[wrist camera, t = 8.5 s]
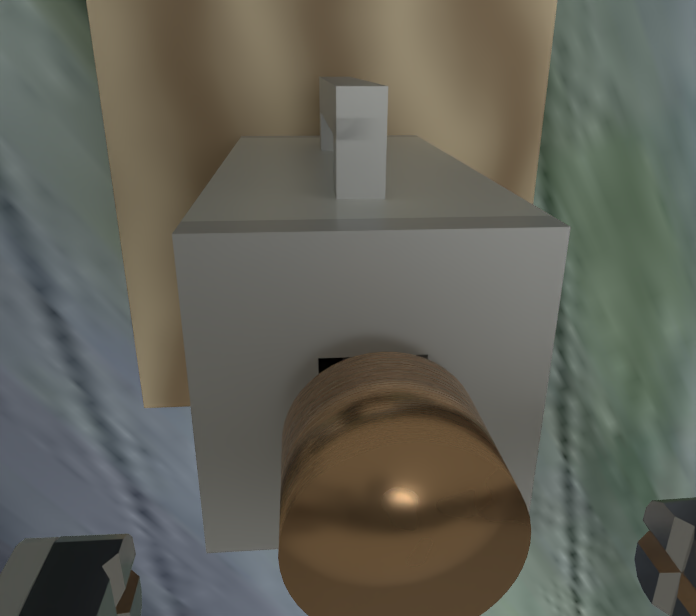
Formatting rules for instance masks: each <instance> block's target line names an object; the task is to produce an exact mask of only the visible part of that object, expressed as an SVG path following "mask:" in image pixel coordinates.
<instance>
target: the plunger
mask: <svg viewBox="0 0 696 616" xmlns="http://www.w3.org/2000/svg"><path fill="white" fill-rule="evenodd" d="M342 359H343V361H340V362H338V363H336V364H334V365H332V366H330V367H329V368H327V369H326V370H324V371H322V372H321V373H319V374H318V375H317V376H316V377H314V378H313V379H312V380H311V381H310V382H309V383H308V384H307V385H306V386H305V387H304V388H303V389H302V390H301V391H300V393H299V394H298V396H297V397H296V398H295V400H294V401H293V403H292V405H291V407H290V409H289V411H288V413H287V416H286V419H285V422H284V427H283V432H282V455H281V488H280V520H279V552H278V559H279V567H280V572H281V575H282V578H283V582H284V584H285V586H286V588H287V590H288V592H289V594H290V595H291V597H292V598H293V600H294V601H295V602H296V604H297V605H298V606H299V607H300V608H301V609H302V610H303V611H304V612H305V613H306V614H307V615H308V616H480V615H481V614H482V613H484V612H485V611H487V610H488V609H489V608H490V607H492V606H493V605H494V604H495V603H496V602H498V600H499V599H500V598H501V597H502V596H503V595H504V594H505V593H506V592H507V591H508V590H509V588H510V587H511V586H512V584H513V583H514V582H515V580H516V579H517V577H518V575H519V573H520V572H521V570H522V568H523V565H524V563H525V560H526V558H527V555H528V551H529V546H530V539H531V524H530V516H529V512H528V509H527V505H526V503H525V501H524V499H523V497H522V494H521V492H520V490H519V489H518V487H517V485H516V483H515V481H514V479H513V477H512V475H511V473H510V472H509V470H508V468H507V466H506V464H505V462H504V460H503V458H502V456H501V454H500V453H499V451H498V449H497V447H496V445H495V443H494V441H493V439H492V437H491V436H490V434H489V432H488V430H487V428H486V426H485V424H484V422H483V420H482V418H481V417H480V415H479V413H478V411H477V409H476V407H475V405H474V403H473V401H472V400H471V398H470V396H469V394H468V392H467V391H466V389H465V388H464V387H463V385H462V384H461V383H460V382H459V381H458V380H457V378H456V377H455V376H454V375H452V374H451V373H450V372H449V371H447V370H446V369H445V368H443V367H441V366H440V365H438V364H436V363H435V362H432V361H430V360H428V359H425V358H423V357H420V356H416V355H412V354H408V353H401V352H374V353H367V354H362V355H357V356H354V357H342Z"/></svg>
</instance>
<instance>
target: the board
mask: <svg viewBox="0 0 696 616" xmlns="http://www.w3.org/2000/svg"><path fill="white" fill-rule="evenodd" d="M86 2H87V9H88V16H89V23H90V30H91V37H92V44H93V51H94V59H95V66H96V73H97V80H98V87H99V94H100V101H101V108H102V115H103V122H104V129H105V136H106V143H107V150H108V157H109V164H110V171H111V178H112V185H113V192H114V199H115V206H116V213H117V220H118V227H119V234H120V241H121V248H122V255H123V262H124V269H125V276H126V283H127V290H128V297H129V304H130V312H131V319H132V326H133V333H134V340H135V347H136V354H137V361H138V368H139V375H140V382H141V389H142V396H143V403H144V408H159V407H184V406H191V405H190V396H189V387H188V378H187V368H186V359H185V350H184V341H183V332H182V323H181V313H180V304H179V295H178V286H177V277H176V267H175V258H174V249H173V240H172V233H173V232H174V230H175V229H176V228H177V226H178V225H179V223H180V222H181V221H182V219H183V218H184V216H185V215H186V213H187V212H188V211H189V209H190V208H191V206H192V205H193V204H194V202H195V201H196V199H197V198H198V197H199V195H200V194H201V192H202V191H203V190H204V188H205V187H206V185H207V184H208V183H209V181H210V180H211V178H212V177H213V175H214V174H215V173H216V171H217V170H218V168H219V167H220V166H221V164H222V163H223V161H224V160H225V159H226V157H227V156H228V154H229V153H230V152H231V150H232V149H233V147H234V146H235V144H236V143H237V142H238V140H239V139H240V137H241V136H320V107H319V77H353V78H357V79H361V80H365V81H369V82H374V83H378V84H382V85H386V86H388V114H387V135H417V136H418V137H420V138H422V139H423V140H425V141H427V142H428V143H430V144H432V145H433V146H435V147H437V148H438V149H440V150H442V151H443V152H445V153H447V154H449V155H450V156H452V157H454V158H455V159H457V160H459V161H460V162H462V163H464V164H465V165H467V166H469V167H470V168H472V169H474V170H476V171H477V172H479V173H481V174H482V175H484V176H486V177H487V178H489V179H491V180H492V181H494V182H496V183H497V184H499V185H501V186H502V187H504V188H506V189H508V190H509V191H511V192H513V193H514V194H516V195H518V196H519V197H521V198H523V199H524V200H526V201H528V202H529V203H531V204H533V199H534V191H535V183H536V174H537V166H538V158H539V149H540V141H541V133H542V124H543V116H544V107H545V99H546V91H547V82H548V74H549V66H550V57H551V49H552V41H553V32H554V24H555V15H556V7H557V0H86Z"/></svg>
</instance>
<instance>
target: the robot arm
mask: <svg viewBox="0 0 696 616" xmlns="http://www.w3.org/2000/svg"><path fill="white" fill-rule="evenodd" d="M643 522H644V523H645V525H646V526H647V528H648V529H649V531H648V532H647V533H646V534H645V535H644V536H643V537H642V538H641V539H640V540H639V541H638V543H637V548H636V554H635V565H636V572H637V577H638V579H639V582H640V584H641V587H642V589H643V591H644V593H645V594H646V596H647V597H648V599H649V600H650V602H651V603H652V604H653V605H654V606H656V607H657V608H659V609H660V610H662V611H663V612H665V613H667V614H668V615H670V616H696V497H694V498H680V499H666V500H652V501H651V502H650V504H649V505H648V506H647V507H646V510H645V514H644V518H643ZM135 555H136V553H135V548H134V543H133V538H132V536H130V535H129V534H107V535H81V536H61V537H49V538H25V539H24V540H23V541H21V542H20V543H19V544H18V545H17V546H16V547H15V549H14V551H13V552H12V554H11V556H10V558H9V560H8V561H7V563H6V565H5V567H4V568H3V570H2V572H1V574H0V616H141V609H142V590H141V583H140V577H139V576H138V575H137V574H136V573H135V572H133V571H132V570H131V568H132V565H133V561H134V558H135Z"/></svg>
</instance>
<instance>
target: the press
mask: <svg viewBox="0 0 696 616" xmlns="http://www.w3.org/2000/svg"><path fill="white" fill-rule="evenodd" d="M319 107H320V136H241V137H240V139H239V140H238V142H237V143H236V144H235V146H234V147H233V149H232V150H231V152H230V153H229V154H228V156H227V157H226V159H225V160H224V161H223V163H222V164H221V166H220V167H219V168H218V170H217V171H216V173H215V174H214V175H213V177H212V178H211V180H210V181H209V183H208V184H207V185H206V187H205V188H204V190H203V191H202V192H201V194H200V195H199V197H198V198H197V199H196V201H195V202H194V204H193V205H192V206H191V208H190V209H189V211H188V212H187V213H186V215H185V216H184V218H183V219H182V221H181V222H180V223H179V225H178V226H177V228H176V229H175V230H174V232H173V233H172V240H173V249H174V258H175V267H176V277H177V286H178V295H179V304H180V313H181V323H182V332H183V341H184V350H185V359H186V368H187V378H188V387H189V396H190V405H191V414H192V424H193V433H194V442H195V451H196V460H197V470H198V479H199V488H200V497H201V506H202V516H203V525H204V534H205V543H206V552H207V553H217V552H234V551H252V550H269V549H279V520H280V488H281V455H282V432H283V427H284V422H285V419H286V416H287V413H288V411H289V409H290V407H291V405H292V403H293V401H294V400H295V398H296V397H297V396H298V394H299V393H300V391H301V390H302V389H303V388H304V387H305V386H306V385H307V384H308V383H309V382H310V381H311V380H312V379H313V378H314V377H316V376H317V375H318V374H319V373H321V372H322V371H324V370H326V369H327V368H329V367H330V366H332V365H334V364H336V363H338V362H340V361H343V359H342V357H354V356H357V355H362V354H367V353H374V352H401V353H408V354H412V355H416V356H420V357H423V358H425V359H428V360H430V361H432V362H435V363H436V364H438V365H440V366H441V367H443V368H445V369H446V370H447V371H449V372H450V373H451V374H452V375H454V376H455V377H456V378H457V380H458V381H459V382H460V383H461V384H462V385H463V387H464V388H465V389H466V391H467V392H468V394H469V396H470V398H471V400H472V401H473V403H474V405H475V407H476V409H477V411H478V413H479V415H480V417H481V418H482V420H483V422H484V424H485V426H486V428H487V430H488V432H489V434H490V436H491V437H492V439H493V441H494V443H495V445H496V447H497V449H498V451H499V453H500V454H501V456H502V458H503V460H504V462H505V464H506V466H507V468H508V470H509V472H510V473H511V475H512V477H513V479H514V481H515V483H516V485H517V487H518V489H519V490H520V492H521V494H522V497H523V499H524V501H525V503H526V505H527V509H528V512H529V510H530V503H531V496H532V489H533V482H534V475H535V469H536V462H537V455H538V448H539V441H540V434H541V427H542V420H543V413H544V407H545V400H546V393H547V386H548V379H549V372H550V365H551V358H552V351H553V345H554V338H555V331H556V324H557V317H558V310H559V303H560V296H561V290H562V283H563V276H564V269H565V262H566V255H567V248H568V241H569V234H570V228H571V227H570V226H568V225H566V224H565V223H563V222H561V221H560V220H558V219H556V218H555V217H553V216H551V215H550V214H548V213H546V212H545V211H543V210H541V209H540V208H538V207H536V206H534V205H533V204H531V203H529V202H528V201H526V200H524V199H523V198H521V197H519V196H518V195H516V194H514V193H513V192H511V191H509V190H508V189H506V188H504V187H502V186H501V185H499V184H497V183H496V182H494V181H492V180H491V179H489V178H487V177H486V176H484V175H482V174H481V173H479V172H477V171H476V170H474V169H472V168H470V167H469V166H467V165H465V164H464V163H462V162H460V161H459V160H457V159H455V158H454V157H452V156H450V155H449V154H447V153H445V152H443V151H442V150H440V149H438V148H437V147H435V146H433V145H432V144H430V143H428V142H427V141H425V140H423V139H422V138H420V137H418V136H417V135H387V114H388V86H386V85H382V84H378V83H374V82H369V81H365V80H361V79H357V78H353V77H319Z"/></svg>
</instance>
